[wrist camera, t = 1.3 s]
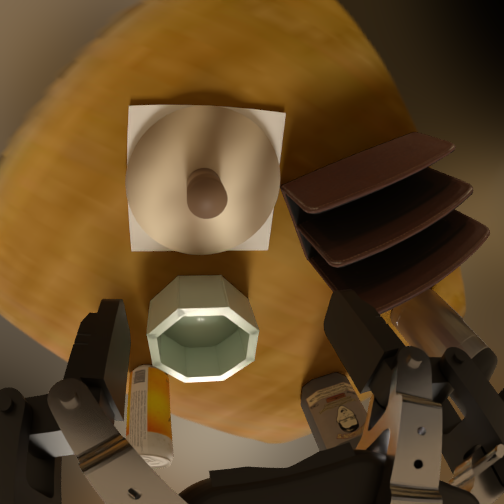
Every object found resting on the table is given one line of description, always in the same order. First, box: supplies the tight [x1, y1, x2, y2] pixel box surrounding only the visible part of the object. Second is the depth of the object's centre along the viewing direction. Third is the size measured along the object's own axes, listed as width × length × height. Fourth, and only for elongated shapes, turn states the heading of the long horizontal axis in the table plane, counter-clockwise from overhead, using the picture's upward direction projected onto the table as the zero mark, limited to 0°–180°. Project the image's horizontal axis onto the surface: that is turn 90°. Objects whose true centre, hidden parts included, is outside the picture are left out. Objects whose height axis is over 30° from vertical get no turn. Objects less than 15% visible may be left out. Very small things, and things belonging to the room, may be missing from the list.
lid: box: [126, 105, 280, 255], centre depth 24 cm, size 15×15×6 cm
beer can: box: [126, 365, 174, 469], centre depth 32 cm, size 6×6×15 cm
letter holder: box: [280, 132, 490, 314], centre depth 26 cm, size 10×20×14 cm, turn 112°
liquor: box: [301, 372, 367, 451], centre depth 37 cm, size 9×9×30 cm
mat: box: [127, 105, 286, 251], centre depth 27 cm, size 15×15×1 cm
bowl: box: [146, 275, 259, 382], centre depth 33 cm, size 12×12×6 cm
